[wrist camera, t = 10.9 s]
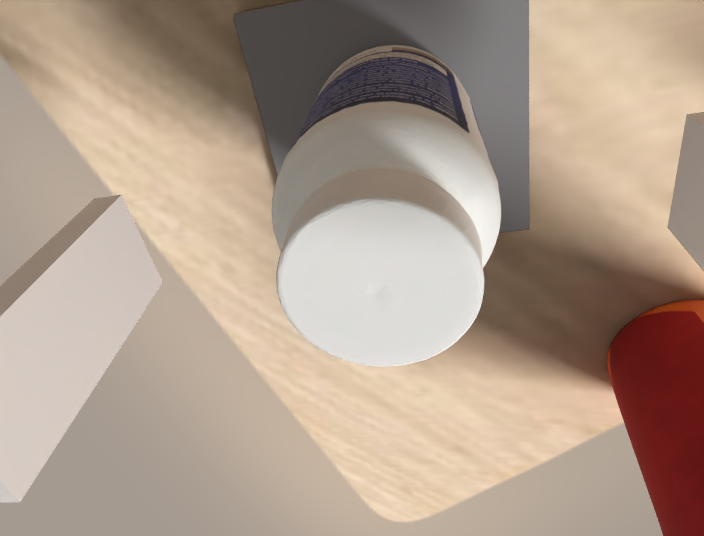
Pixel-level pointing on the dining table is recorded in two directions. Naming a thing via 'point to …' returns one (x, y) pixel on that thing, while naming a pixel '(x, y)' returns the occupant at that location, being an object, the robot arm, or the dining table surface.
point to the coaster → (409, 30)
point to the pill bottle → (386, 211)
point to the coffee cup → (665, 408)
